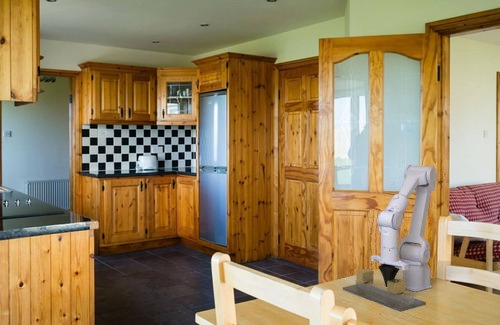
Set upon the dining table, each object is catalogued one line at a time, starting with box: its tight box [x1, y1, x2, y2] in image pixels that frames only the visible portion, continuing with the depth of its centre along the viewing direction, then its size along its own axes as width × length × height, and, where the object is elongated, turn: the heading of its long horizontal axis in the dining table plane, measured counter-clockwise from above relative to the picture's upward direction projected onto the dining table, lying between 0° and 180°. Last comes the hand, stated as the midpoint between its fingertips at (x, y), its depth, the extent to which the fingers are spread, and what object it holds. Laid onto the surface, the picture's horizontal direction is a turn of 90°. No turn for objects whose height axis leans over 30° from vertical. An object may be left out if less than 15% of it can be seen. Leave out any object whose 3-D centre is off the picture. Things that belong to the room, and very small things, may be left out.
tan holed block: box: [386, 278, 407, 294], centre depth 159 cm, size 6×3×6 cm, turn 122°
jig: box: [342, 268, 426, 312], centre depth 163 cm, size 12×26×7 cm, turn 32°
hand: (389, 286), depth 161 cm, fingers closed
